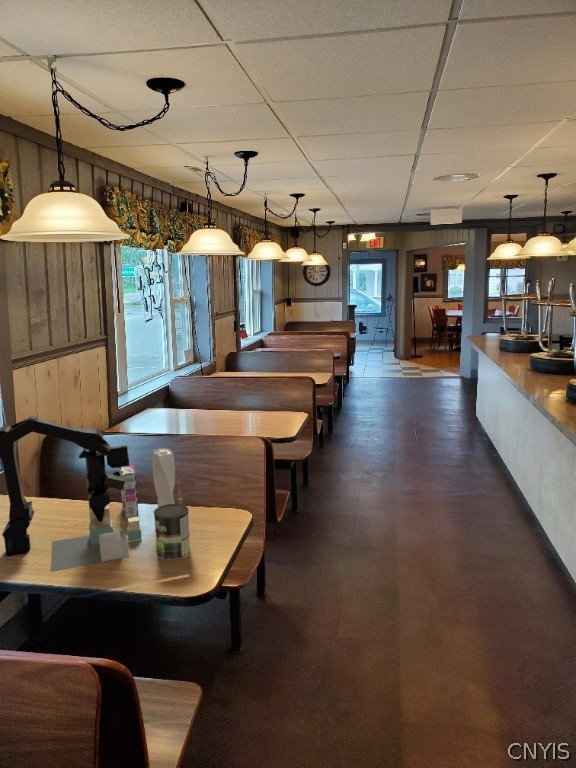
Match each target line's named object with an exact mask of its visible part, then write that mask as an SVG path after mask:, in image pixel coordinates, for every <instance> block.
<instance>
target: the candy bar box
mask: <svg viewBox="0 0 576 768" xmlns="http://www.w3.org/2000/svg"><path fill="white" fill-rule="evenodd" d="M119 472H120V476H123V477H124V478H125V484H124V487H123V490H120V492H121V493H120V494H121V507H122V512H123V515H124V519H128V518H133V517H139V504H138V503H139V502H138V485H137V472H136V469H135V467H134V464H129V466H128V467H119Z"/></svg>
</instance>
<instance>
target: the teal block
mask: <svg viewBox="0 0 576 768" xmlns="http://www.w3.org/2000/svg"><path fill="white" fill-rule="evenodd" d="M112 520H113V519H112V518H110V522H111V527H105V528H98V529H92V530H91V524H90V521H88V526H89V527H88V529H89V535H90V541H91V545H97V544H100V542H99V534H106V533H112V532H113V531H114V526H113V521H112Z"/></svg>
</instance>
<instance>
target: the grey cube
mask: <svg viewBox="0 0 576 768" xmlns="http://www.w3.org/2000/svg"><path fill="white" fill-rule="evenodd" d="M117 531H118V532H112V533H106V534H99V542H100V554H101V561H108V560H113V561H115V560H114V559H119V558H122V546H121V537H120V532H119V530H117ZM119 560H120V559H119ZM108 562H109V561H108Z"/></svg>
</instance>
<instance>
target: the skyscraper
mask: <svg viewBox="0 0 576 768" xmlns="http://www.w3.org/2000/svg"><path fill="white" fill-rule="evenodd" d="M152 476H153V483H154V490H155V493H156V496H157V508H158V507H160V506H163V505H168V504H176V502H175V498H174V494H173V493H174V487H175V482H176V480H175V479H176V465H175V457H174V452H173V451H172V450H171V449H170V448H168V447H167V448H166V447H160V448H156V449H154V450H153V451H152ZM177 494H178V498H177V504H182V505H183V498H182V492H181V487H180V486H178V493H177Z"/></svg>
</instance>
